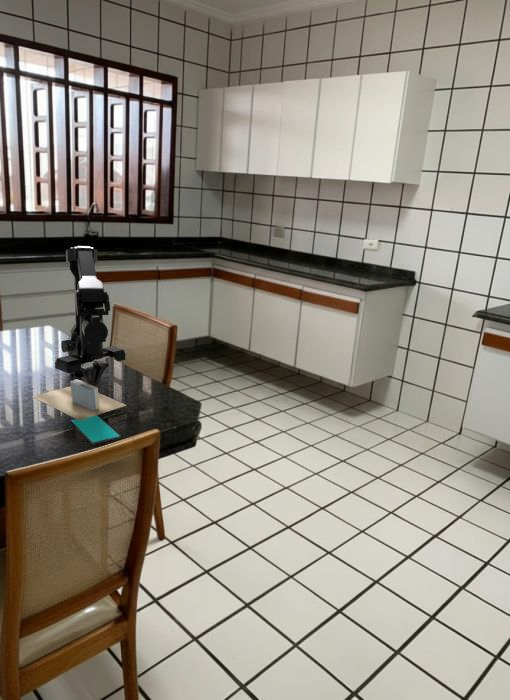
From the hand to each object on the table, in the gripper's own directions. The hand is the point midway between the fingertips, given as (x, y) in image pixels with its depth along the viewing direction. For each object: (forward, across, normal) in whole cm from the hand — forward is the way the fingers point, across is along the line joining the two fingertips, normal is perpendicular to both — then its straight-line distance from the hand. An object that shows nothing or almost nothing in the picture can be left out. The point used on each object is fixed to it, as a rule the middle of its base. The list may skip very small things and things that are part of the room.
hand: (92, 389), depth 145 cm
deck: (+4, +2, 0) cm, 5 cm away
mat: (+5, +1, -4) cm, 6 cm away
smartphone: (+5, +9, +13) cm, 16 cm away
